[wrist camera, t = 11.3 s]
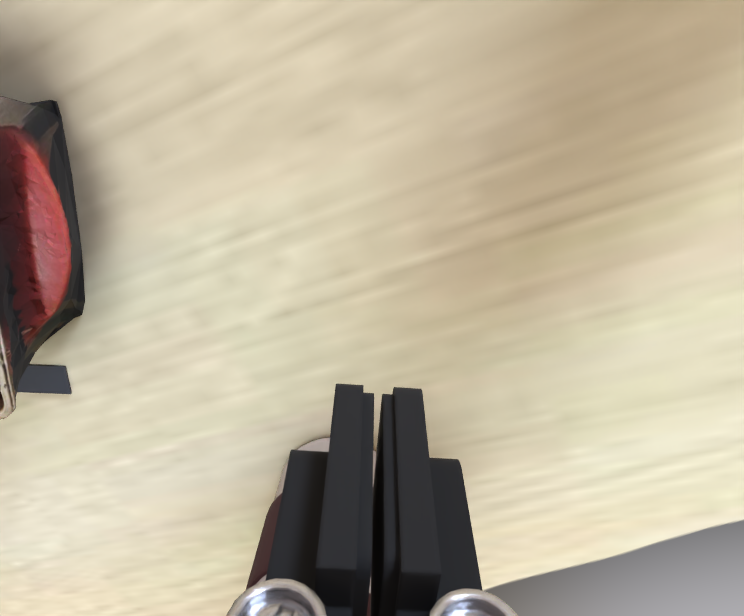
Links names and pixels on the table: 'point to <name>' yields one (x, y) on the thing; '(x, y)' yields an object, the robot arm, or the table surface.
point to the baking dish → (34, 238)
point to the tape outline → (44, 380)
